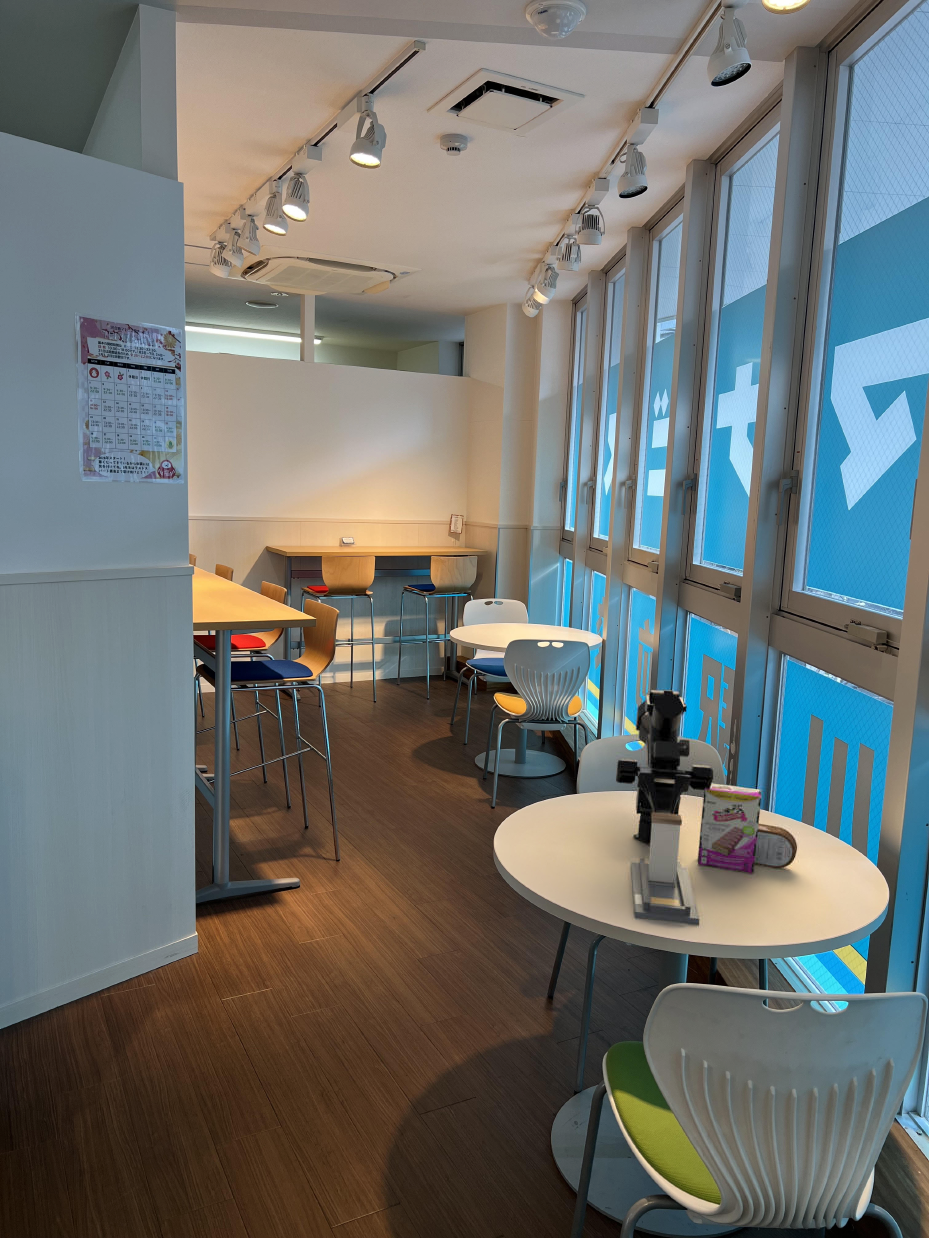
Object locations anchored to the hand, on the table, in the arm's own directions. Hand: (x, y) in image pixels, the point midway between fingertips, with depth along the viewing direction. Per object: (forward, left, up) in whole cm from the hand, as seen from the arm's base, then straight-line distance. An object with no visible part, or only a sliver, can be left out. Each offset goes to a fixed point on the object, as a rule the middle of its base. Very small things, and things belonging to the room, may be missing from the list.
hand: (663, 813), depth 167 cm
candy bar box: (-15, +4, -13) cm, 20 cm away
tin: (-22, +7, -13) cm, 26 cm away
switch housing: (+6, +6, -13) cm, 15 cm away
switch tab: (+4, +4, -11) cm, 12 cm away
